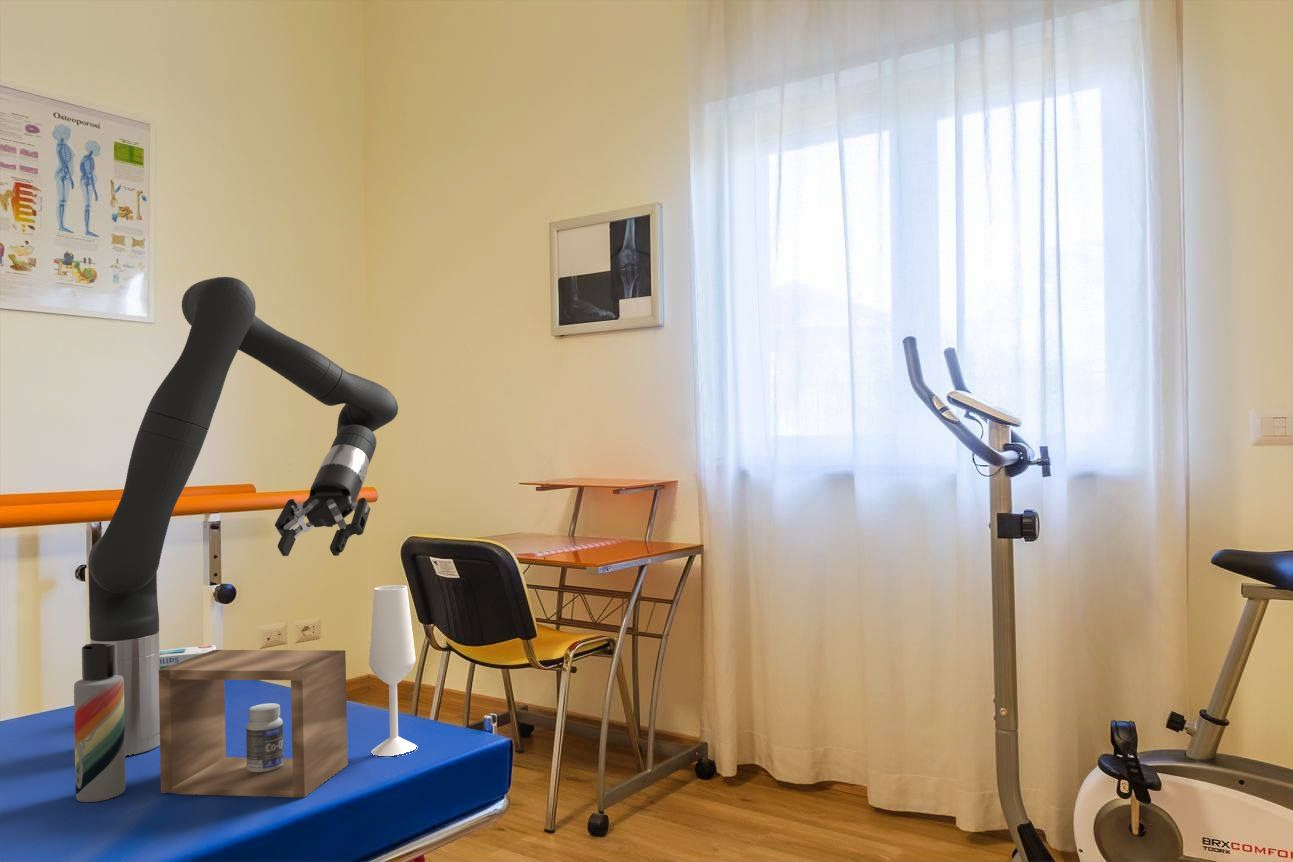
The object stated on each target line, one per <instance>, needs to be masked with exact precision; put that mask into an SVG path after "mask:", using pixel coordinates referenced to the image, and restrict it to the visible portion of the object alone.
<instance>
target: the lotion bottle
mask: <svg viewBox="0 0 1293 862" xmlns="http://www.w3.org/2000/svg"><path fill="white" fill-rule="evenodd" d="M115 674H116V662H115V645H110V644H90V643H88V644H87V643H86V644H85V645H83V646H82V647H81V676H82V677H81V679H79V680H77V681H75V683H73V684H74V685H73V707H74V708H73V709H74V712H73V713H74V716H73V717H74V718H73V719H74V720H73V721H74V724H73V725H74V775H75V776H74V779H75V780H74V781H75V782H74V784H75V797H76V801H78V802H80V803H81V802H82V803H94V802H95V803H96V802H101V801H102V802H103V801H106V800H110V798H111V799H113V797H114V798H116V797H118V796H120V795H121V794H123V793H124V792H125V791H126V756H125V713H124V678H123V677H122V676H120V675H115Z"/></svg>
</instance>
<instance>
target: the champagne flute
mask: <svg viewBox="0 0 1293 862" xmlns="http://www.w3.org/2000/svg"><path fill="white" fill-rule="evenodd" d="M410 608H411V607H410V601H409V593H408V586H407V585H405V584H404V585H402V584H400V585H399V584H396V585H394V584H393V585H390V584H389V585H382V586H377V587H374V588H373V601H372V616H371V628H370V629H371V631H370V642H369V644H370V645H369V654H368V655H369V658H368V665H369V666H368V667H369V669H370V670H371V672H372V673H373V674H374V675H375V676H377V678H379V680H380V681H382V682H383V683H384V684H387V685H388V703H389V704H388V707H389V710H388V711H389V737H388V738H387V739H385V740H384V741H382V742H381V743H380V744H378V745H376V746H375V747H374V748H373V749H371V751H370V753H372V754H373V755H372V754H371V755H372V756H374V755H378V756H394V755H399V754H404V753H406V752H410V751H413V750H415V749H416V747H417V748H418V746H417V745H416V744H415V743H413V742H411V741H408V740H407V739H404V738H402V737H401V736H399V719H398V718H399V717H398V716H399V715H398V714H399V713H398V708H399V707H398V684H399V683H401V682H402V681H403V680H404V679H405V678H406V676H408V675H409V673H411V671H412V670H413V668H414V666H415V664H416V659H417V657H416V652H415V651H416V650H415V649H416V648H415V642H414V641H415V640H414V635H413V627H412V626H413V624H412V616H411V615H412V614H411V609H410ZM416 750H417V749H416ZM416 750H415V751H416Z"/></svg>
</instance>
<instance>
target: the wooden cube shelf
mask: <svg viewBox="0 0 1293 862" xmlns="http://www.w3.org/2000/svg"><path fill="white" fill-rule="evenodd" d="M346 659H347V658H346V650H338V649H337V650H330V649H329V650H328V649H327V650H323V649H321V650H320V649H319V650H317V649H315V650H314V649H313V650H310V649H308V650H305V649H304V650H302V649H300V650H299V649H295V650H294V649H283V650H282V649H271V650H270V649H216V650H212V651H209V652H207V653H204V654H201V655H198V656H196V657H193V658H190V659H187V660H185V661H182V662H179V663H177V664H174V665H171V666H168V667H166V668H163V669H160V670H159V713H160V745H159V751H160V752H159V754H160V755H159V756H160V757H159V758H160V759H159V760H160V761H159V765H160V770H159V771H160V794H161V793H177V794H176V795H195V796H197V795H198V796H199V795H201V796H206V795H207V796H232V797H233V796H234V797H235V796H236V797H237V796H238V797H240V796H241V797H266V796H275V797H274V798H301V797H305V798H306V797H307V795H308V794H309V793H310V794H311V792H312V791H313V790H314V791H316V790H317V789H318V788H319V787H318V786H320V785H321V784H322V785H324V784H325V783H326V782H328V781H329V780H330V779H331V777H332V776H333V777H334V776H336V775H337V774H338V773H340V772H341V771H342V770H344V769H345V768H346V767H348V766H347V765H349V761H348V758H349V757H348V756H349V755H348V752H349V751H348V713H347V712H348V711H347V705H348V704H347V668H346V667H347V665H346V664H347V663H346ZM225 680H226V681H290V701H291V703H290V705H291V706H290V707H291V708H290V709H291V714H290V715H291V752H292V753H291V754H292V757H291V758H289V757H287V758H285V757H283V765H282V766H281V767H280V768H278V769H275V770H272V771H268V772H260V773H257V772H250V771H248V770H247V756H246V757H239V756H238V757H237V756H236V757H235V756H234V757H233V756H227V750H226V749H227V745H226V744H227V742H226V738H227V737H226V733H227V732H226V693H225V692H226V691H225V690H226V689H225V684H226V683H225ZM344 767H345V768H344ZM343 768H344V769H343ZM339 771H340V772H339ZM335 774H336V775H335ZM333 777H332V778H333ZM328 779H329V780H328ZM327 780H328V781H327ZM325 781H326V782H325ZM324 782H325V783H324ZM323 783H324V784H323ZM322 785H321V786H322ZM321 786H320V787H321ZM317 787H318V788H317ZM316 788H317V789H316ZM315 789H316V790H315ZM314 791H313V792H314ZM313 792H312V793H313ZM196 794H197V795H196ZM310 794H309V795H310ZM309 795H308V796H309Z"/></svg>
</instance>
